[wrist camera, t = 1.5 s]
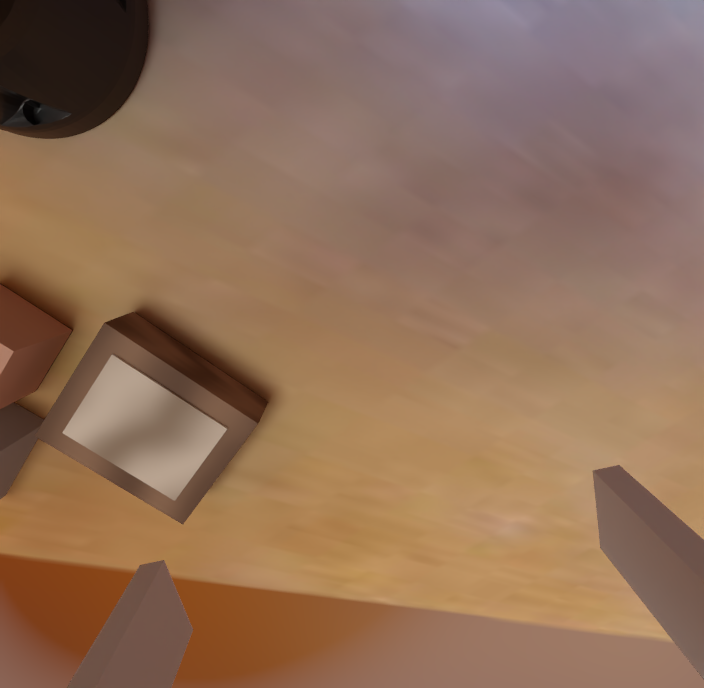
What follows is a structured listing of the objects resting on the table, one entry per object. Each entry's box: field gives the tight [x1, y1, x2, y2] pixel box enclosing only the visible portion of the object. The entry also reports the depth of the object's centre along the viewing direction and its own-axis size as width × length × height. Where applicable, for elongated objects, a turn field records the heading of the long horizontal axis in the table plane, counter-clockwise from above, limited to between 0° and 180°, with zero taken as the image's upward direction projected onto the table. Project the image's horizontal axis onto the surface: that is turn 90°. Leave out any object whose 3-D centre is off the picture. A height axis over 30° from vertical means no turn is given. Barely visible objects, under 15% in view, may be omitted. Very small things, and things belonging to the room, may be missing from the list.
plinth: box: [35, 312, 268, 524], centre depth 33 cm, size 12×10×4 cm
